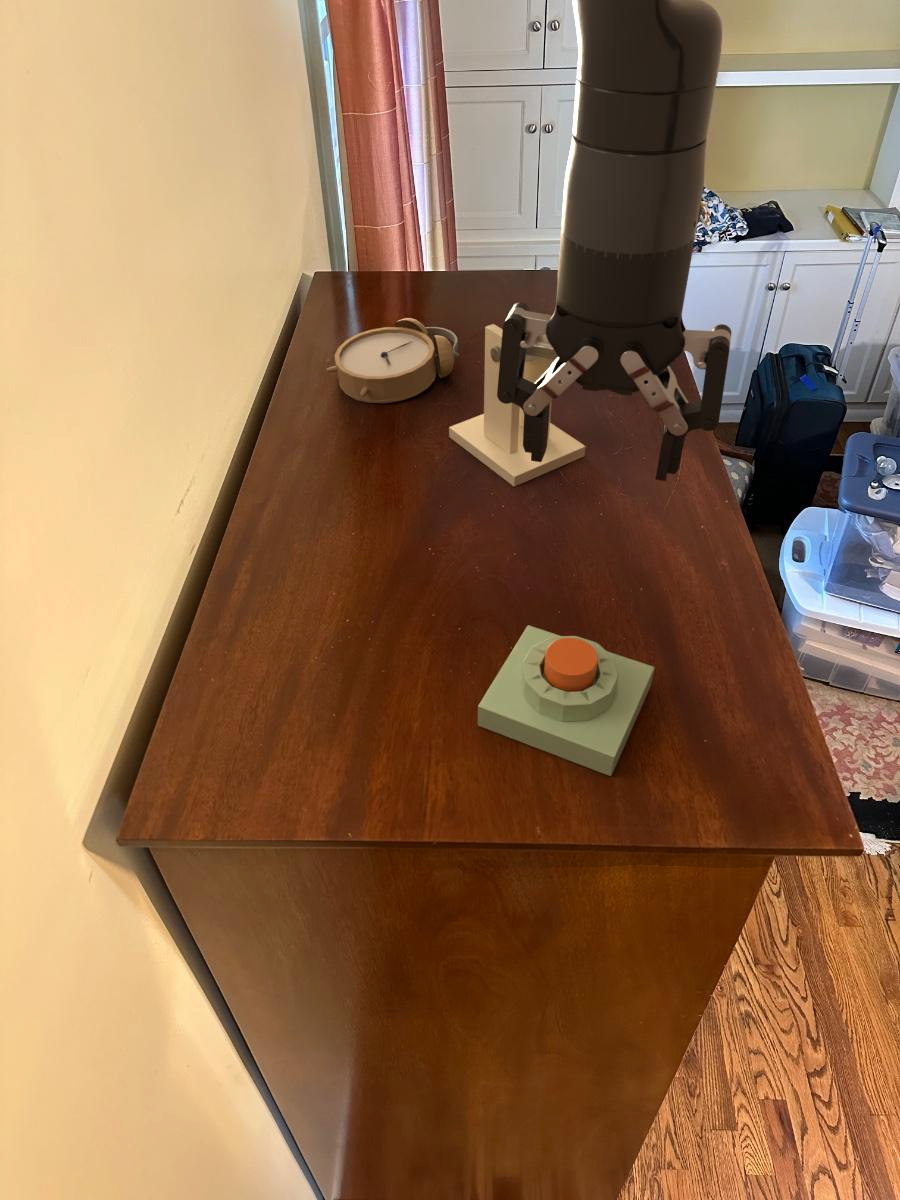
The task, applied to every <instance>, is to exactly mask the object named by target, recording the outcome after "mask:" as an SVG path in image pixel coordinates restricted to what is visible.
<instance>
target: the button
mask: <svg viewBox="0 0 900 1200" xmlns="http://www.w3.org/2000/svg"><path fill="white" fill-rule="evenodd" d="M597 663H598V655H597V652H596V650H595V649H594V648H593V647H592V646H591V645H590V644H589V643H587V642H586V641H584V640H581V639H577V638H562V639H558V640H556V641H554V642H553V643H551V644H550V645H549V647H548V648H547V650H546V654H545V665H544V674H545V677H546V679H547V681H548V682H549V683H550V684H551V685H552V686H554V687H555V688H557V689H560V690H563V691H567V692H577V691H581V690H584V689H586V688H588V687H589V686H590V685H591V684H592V683H593V682H594V680H595V676H596V670H597Z"/></svg>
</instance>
